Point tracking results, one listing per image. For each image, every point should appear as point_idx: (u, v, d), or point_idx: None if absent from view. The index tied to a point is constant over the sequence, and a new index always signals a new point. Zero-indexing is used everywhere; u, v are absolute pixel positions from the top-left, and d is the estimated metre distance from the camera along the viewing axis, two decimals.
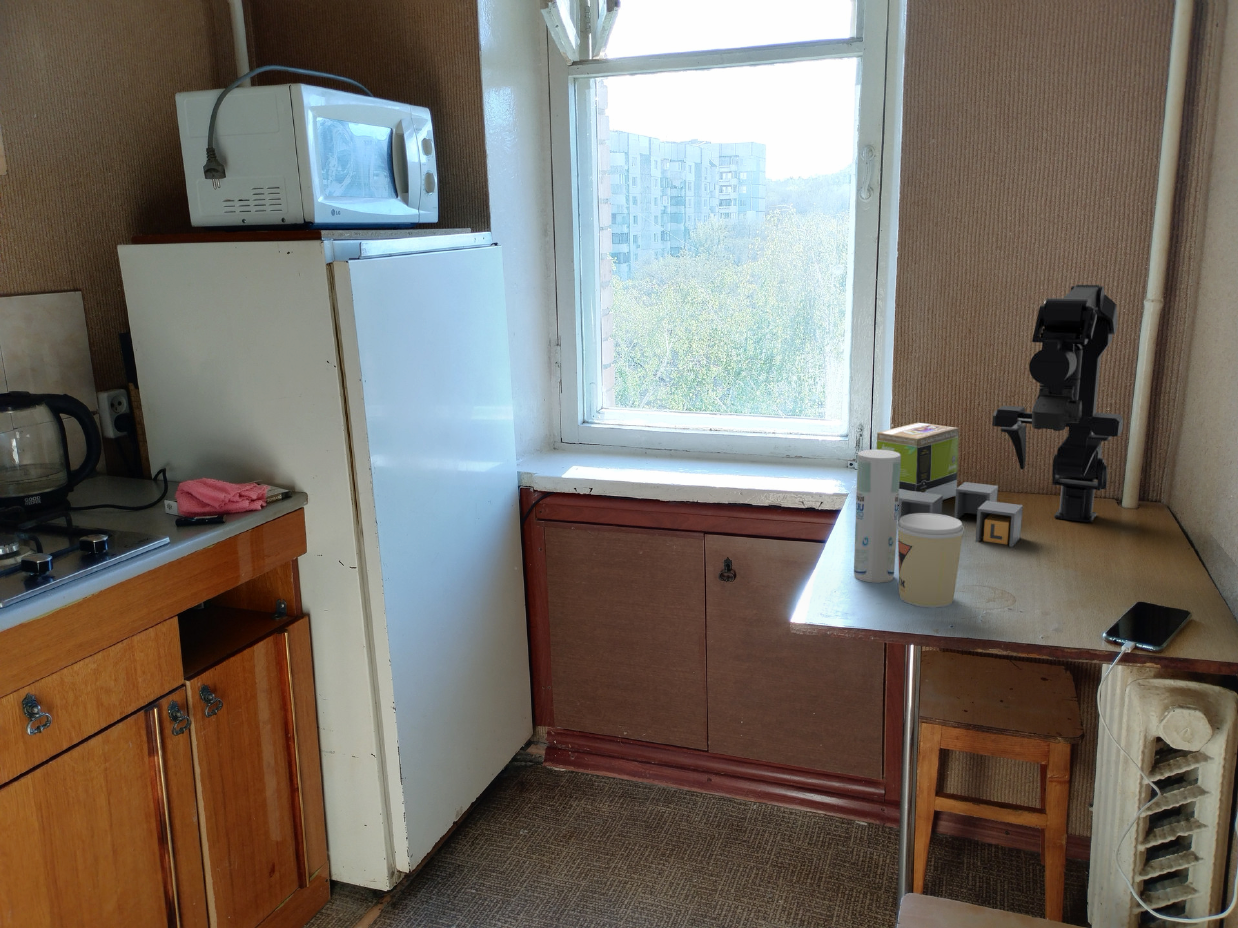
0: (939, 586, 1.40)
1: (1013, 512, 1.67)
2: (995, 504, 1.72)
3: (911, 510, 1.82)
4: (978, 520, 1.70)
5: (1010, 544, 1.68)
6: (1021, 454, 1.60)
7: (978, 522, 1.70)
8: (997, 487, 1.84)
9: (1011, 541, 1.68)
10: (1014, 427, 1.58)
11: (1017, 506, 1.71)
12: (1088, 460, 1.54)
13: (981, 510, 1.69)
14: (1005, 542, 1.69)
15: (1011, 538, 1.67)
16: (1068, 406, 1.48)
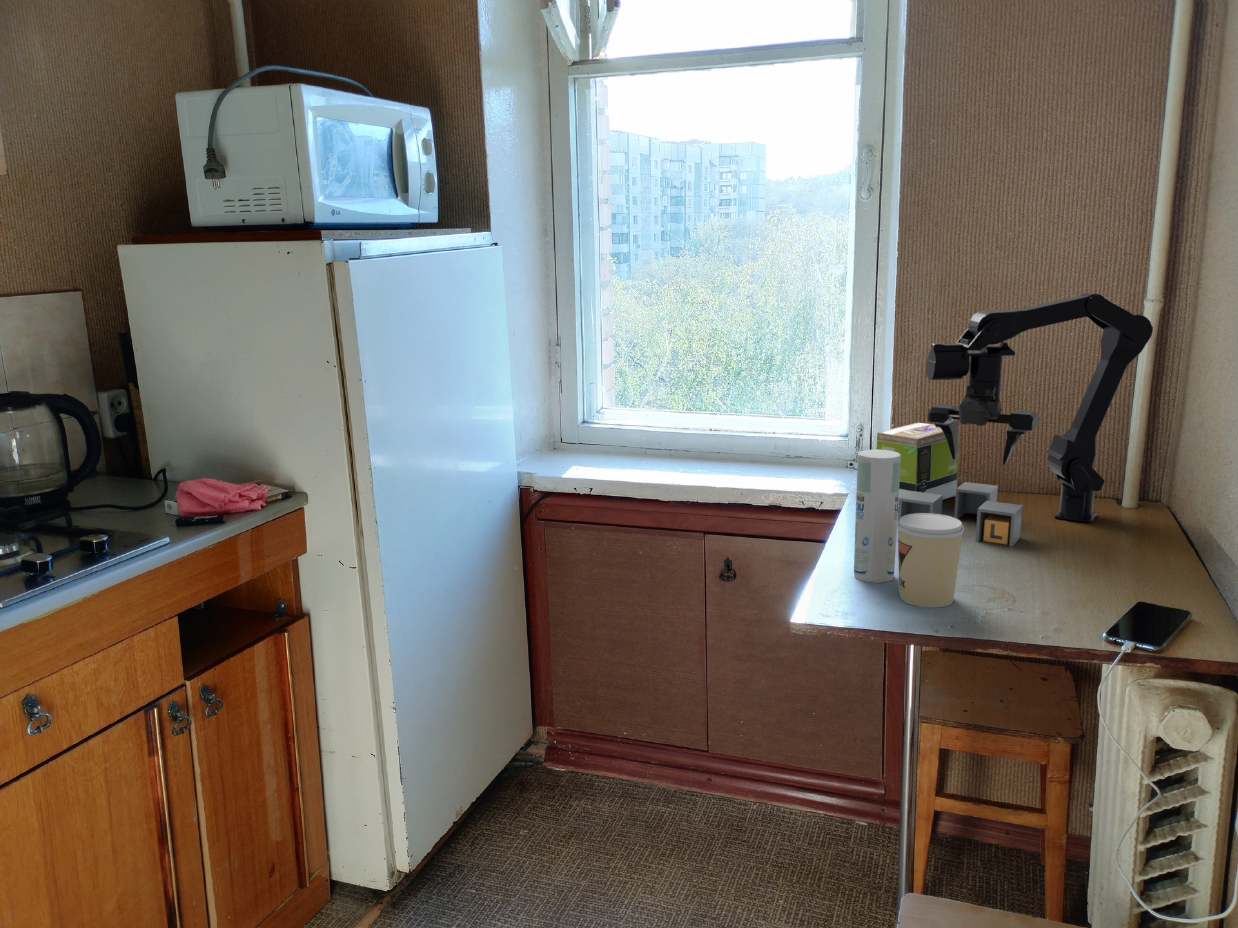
0: (939, 586, 1.40)
1: (1013, 512, 1.67)
2: (995, 504, 1.72)
3: (911, 510, 1.82)
4: (978, 520, 1.70)
5: (1010, 544, 1.68)
6: (953, 446, 1.84)
7: (978, 522, 1.70)
8: (997, 487, 1.84)
9: (1011, 541, 1.68)
10: (946, 422, 1.83)
11: (1017, 506, 1.71)
12: (1008, 451, 1.78)
13: (981, 510, 1.69)
14: (1005, 542, 1.69)
15: (1011, 538, 1.67)
16: (988, 404, 1.73)
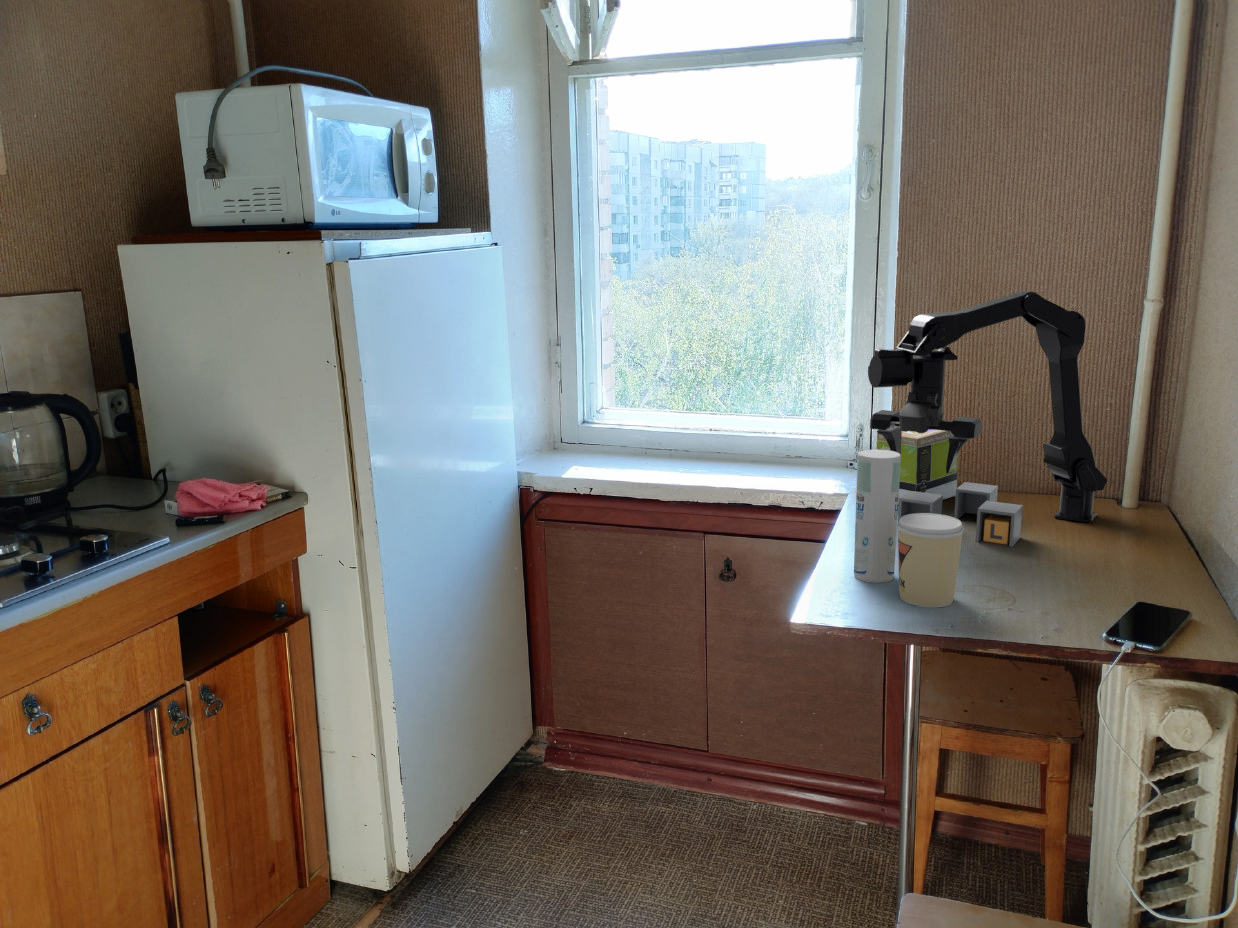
0: (939, 586, 1.40)
1: (1013, 512, 1.67)
2: (995, 504, 1.72)
3: (911, 510, 1.82)
4: (978, 520, 1.70)
5: (1010, 544, 1.68)
6: None
7: (978, 522, 1.70)
8: (997, 487, 1.84)
9: (1011, 541, 1.68)
10: (888, 429, 1.77)
11: (1017, 506, 1.71)
12: (951, 459, 1.73)
13: (981, 510, 1.69)
14: (1005, 542, 1.69)
15: (1011, 538, 1.67)
16: (929, 411, 1.67)
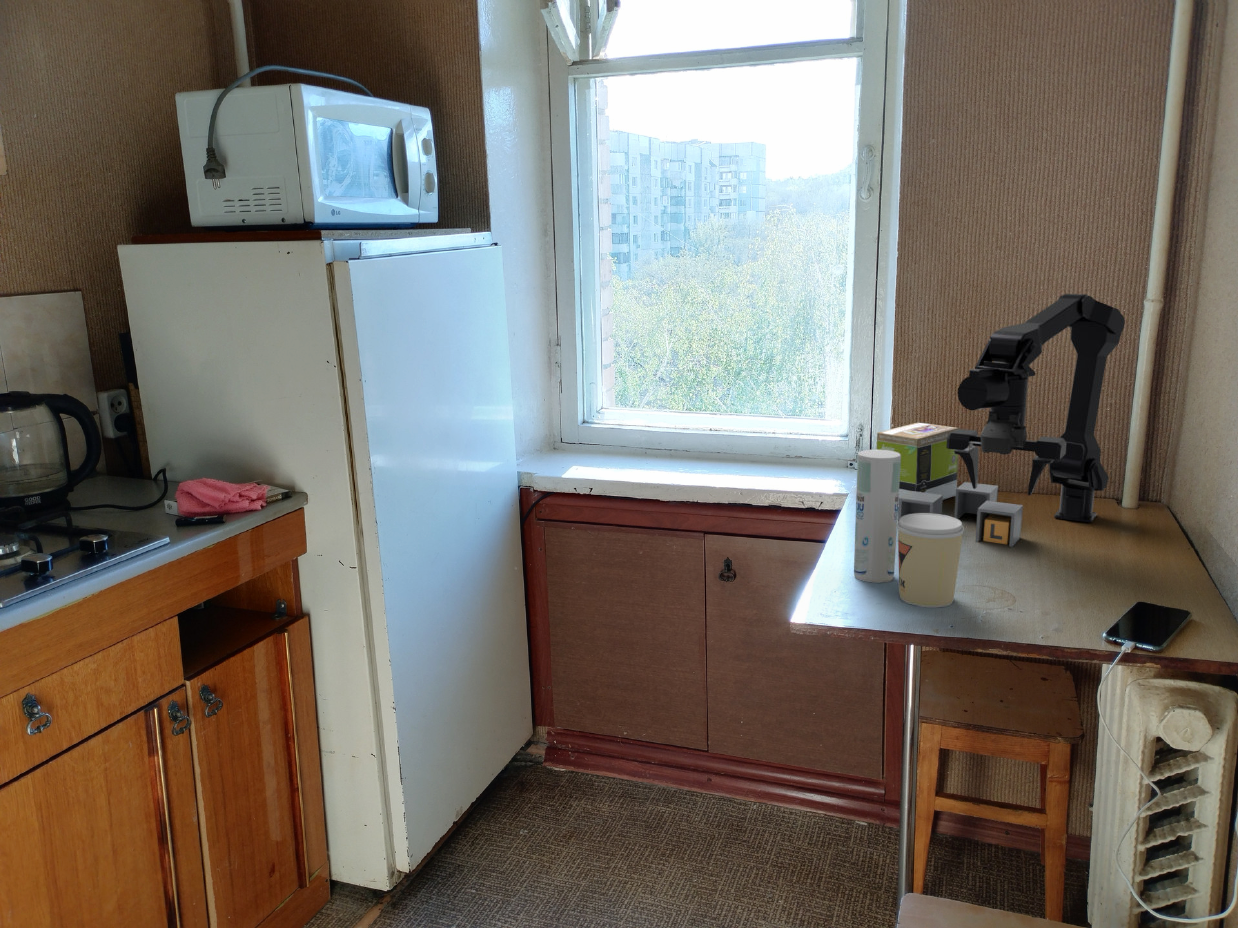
0: (939, 586, 1.40)
1: (1013, 512, 1.67)
2: (995, 504, 1.72)
3: (911, 510, 1.82)
4: (978, 520, 1.70)
5: (1010, 544, 1.68)
6: (973, 475, 1.71)
7: (978, 522, 1.70)
8: (997, 487, 1.84)
9: (1011, 541, 1.68)
10: (966, 450, 1.70)
11: (1017, 506, 1.71)
12: (1034, 481, 1.66)
13: (981, 510, 1.69)
14: (1005, 542, 1.69)
15: (1011, 538, 1.67)
16: (1013, 431, 1.60)
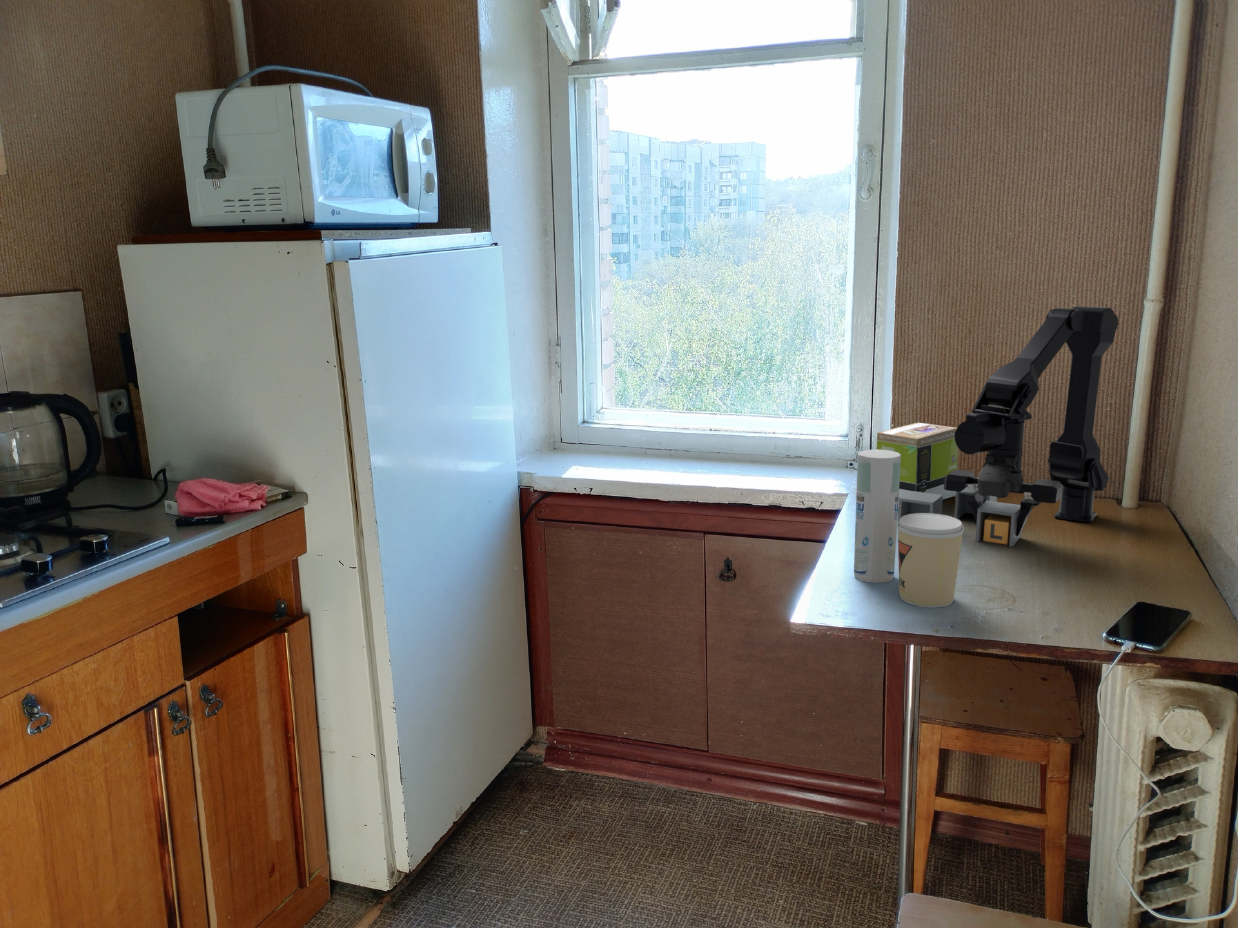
0: (939, 586, 1.40)
1: (1013, 512, 1.67)
2: (995, 504, 1.72)
3: (911, 510, 1.82)
4: (978, 520, 1.70)
5: (1010, 544, 1.68)
6: None
7: (978, 522, 1.70)
8: None
9: (1011, 541, 1.68)
10: (971, 492, 1.71)
11: (1017, 506, 1.71)
12: (1022, 522, 1.68)
13: (981, 510, 1.69)
14: (1005, 542, 1.69)
15: (1011, 538, 1.67)
16: (1010, 476, 1.61)
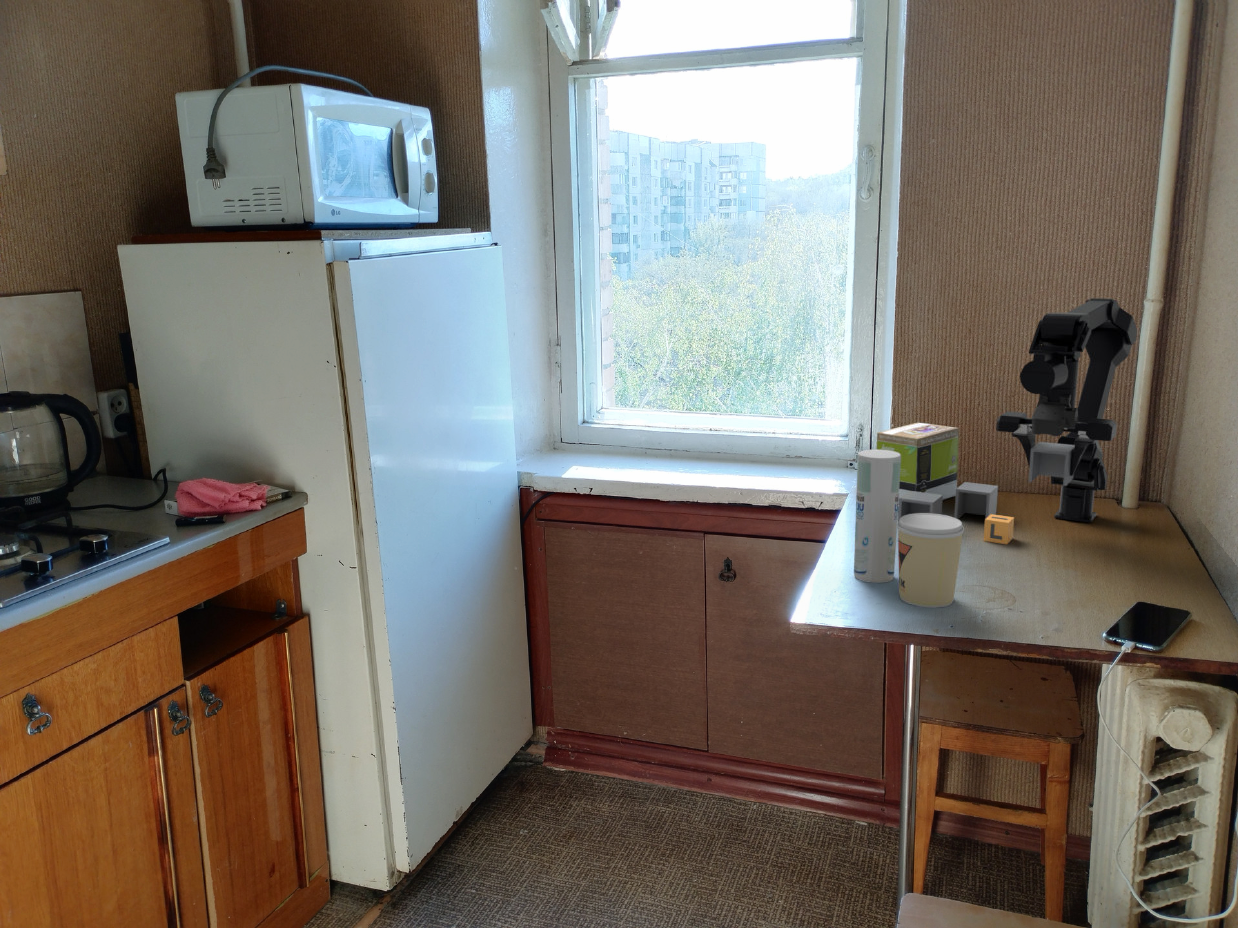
0: (939, 586, 1.40)
1: (1067, 451, 1.67)
2: (1048, 445, 1.72)
3: (911, 510, 1.82)
4: (1031, 460, 1.70)
5: (1064, 483, 1.68)
6: None
7: (1031, 462, 1.70)
8: (997, 487, 1.84)
9: (1065, 480, 1.68)
10: (1024, 432, 1.71)
11: (1070, 446, 1.71)
12: (1076, 461, 1.68)
13: (1034, 450, 1.70)
14: (1005, 542, 1.69)
15: (1065, 477, 1.68)
16: (1065, 413, 1.62)
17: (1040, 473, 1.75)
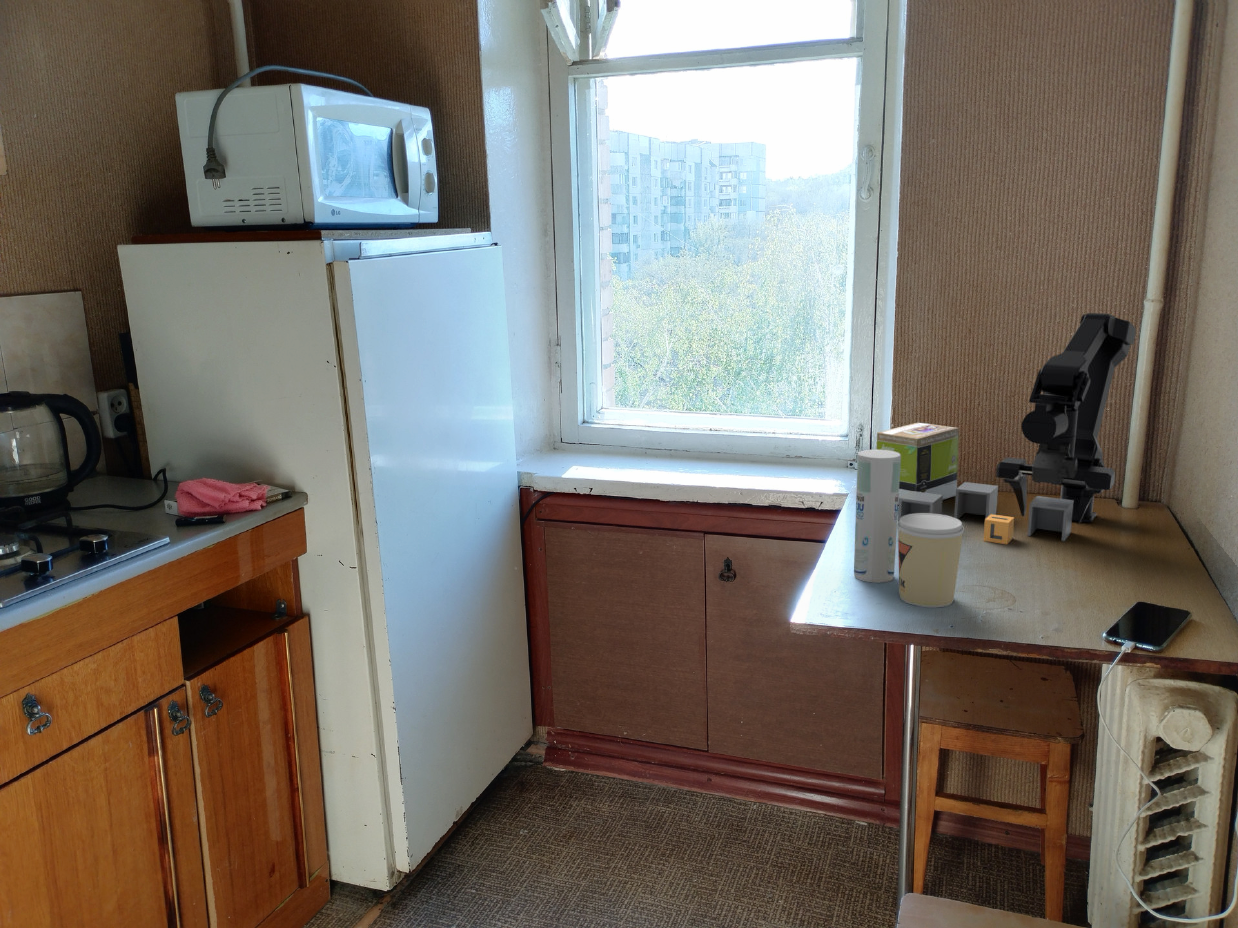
0: (939, 586, 1.40)
1: (1065, 507, 1.70)
2: (1046, 499, 1.75)
3: (911, 510, 1.82)
4: (1030, 515, 1.73)
5: (1062, 538, 1.70)
6: (1022, 503, 1.75)
7: (1030, 517, 1.73)
8: (997, 487, 1.84)
9: (1063, 535, 1.70)
10: (1016, 478, 1.74)
11: (1068, 501, 1.73)
12: (1083, 510, 1.69)
13: (1033, 505, 1.72)
14: (1005, 542, 1.69)
15: (1063, 533, 1.70)
16: (1065, 462, 1.64)
17: (1038, 527, 1.78)
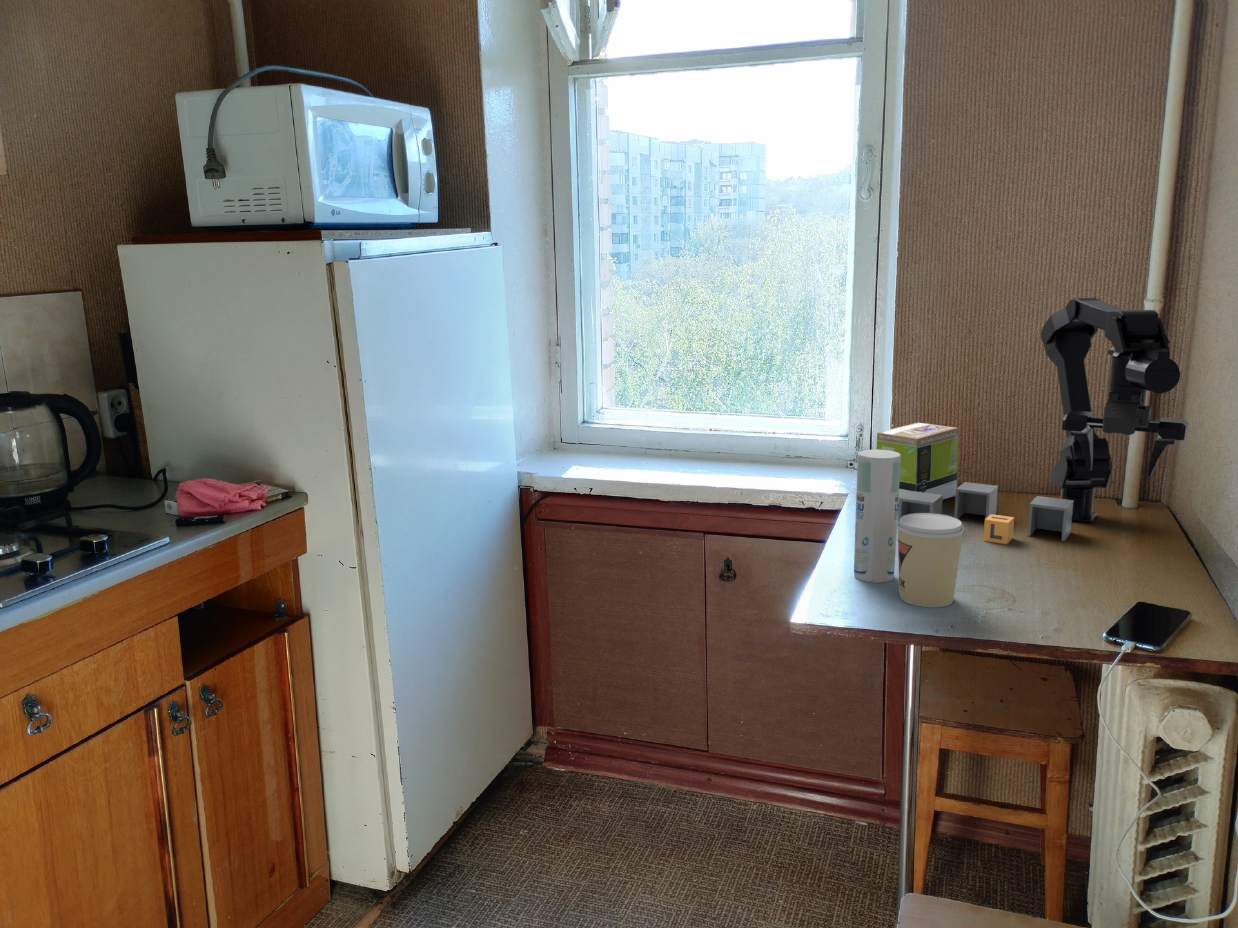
0: (939, 586, 1.40)
1: (1065, 507, 1.70)
2: (1046, 499, 1.75)
3: (911, 510, 1.82)
4: (1030, 515, 1.73)
5: (1062, 538, 1.70)
6: (1089, 456, 1.69)
7: (1030, 517, 1.73)
8: (997, 487, 1.84)
9: (1063, 535, 1.70)
10: (1083, 431, 1.68)
11: (1068, 501, 1.73)
12: (1155, 462, 1.63)
13: (1033, 505, 1.72)
14: (1005, 542, 1.69)
15: (1063, 533, 1.70)
16: (1138, 411, 1.58)
17: (1038, 527, 1.78)
